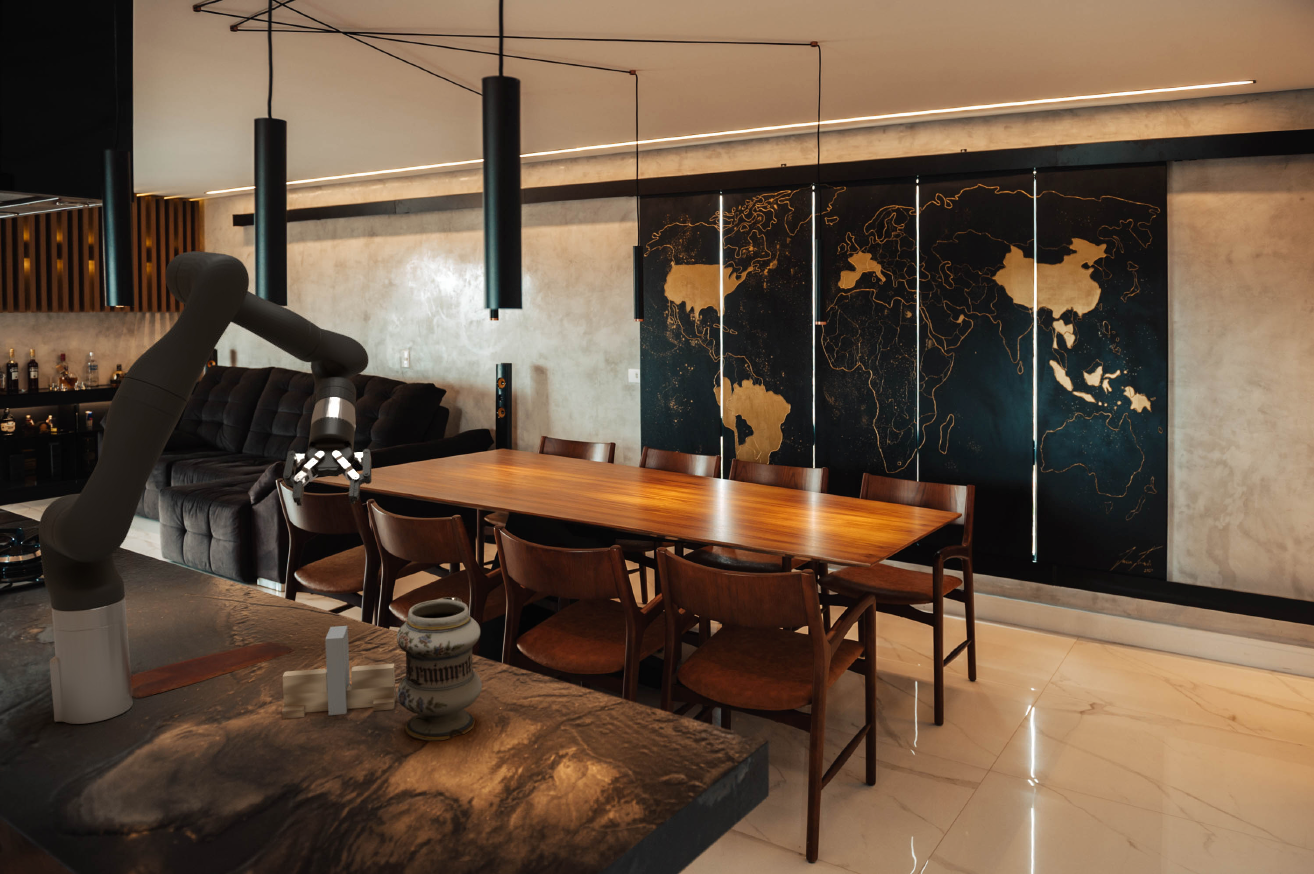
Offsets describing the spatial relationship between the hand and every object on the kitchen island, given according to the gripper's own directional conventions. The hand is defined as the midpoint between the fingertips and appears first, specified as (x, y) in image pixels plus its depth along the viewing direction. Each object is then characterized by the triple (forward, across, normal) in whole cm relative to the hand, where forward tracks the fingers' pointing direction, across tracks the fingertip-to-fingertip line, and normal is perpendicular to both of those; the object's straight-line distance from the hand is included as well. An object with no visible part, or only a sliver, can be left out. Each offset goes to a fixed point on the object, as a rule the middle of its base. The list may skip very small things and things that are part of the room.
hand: (325, 502), depth 145 cm
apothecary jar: (+40, +19, 0) cm, 45 cm away
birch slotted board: (+34, +4, +7) cm, 34 cm away
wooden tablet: (+19, -20, +23) cm, 36 cm away
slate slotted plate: (+33, +4, +7) cm, 34 cm away
